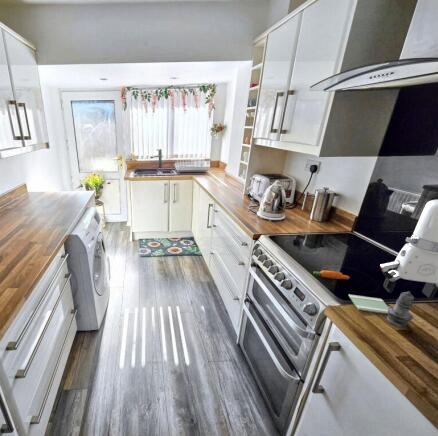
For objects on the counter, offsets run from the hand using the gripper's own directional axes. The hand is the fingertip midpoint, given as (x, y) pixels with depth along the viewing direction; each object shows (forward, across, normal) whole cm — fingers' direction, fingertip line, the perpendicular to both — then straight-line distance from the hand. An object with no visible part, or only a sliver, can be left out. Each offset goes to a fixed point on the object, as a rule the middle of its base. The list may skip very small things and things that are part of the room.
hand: (406, 292), depth 74 cm
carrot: (+12, -10, +22) cm, 27 cm away
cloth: (+11, -3, +7) cm, 14 cm away
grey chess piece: (+12, +1, 0) cm, 12 cm away
